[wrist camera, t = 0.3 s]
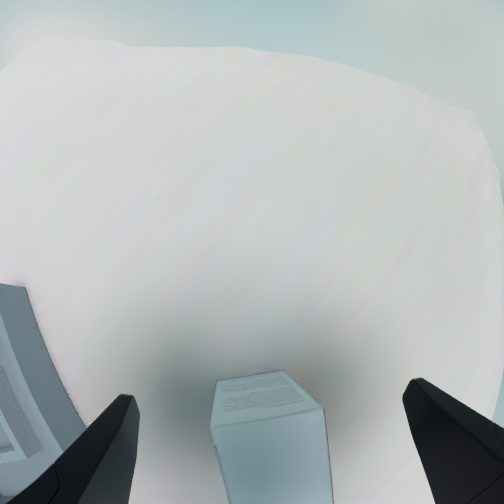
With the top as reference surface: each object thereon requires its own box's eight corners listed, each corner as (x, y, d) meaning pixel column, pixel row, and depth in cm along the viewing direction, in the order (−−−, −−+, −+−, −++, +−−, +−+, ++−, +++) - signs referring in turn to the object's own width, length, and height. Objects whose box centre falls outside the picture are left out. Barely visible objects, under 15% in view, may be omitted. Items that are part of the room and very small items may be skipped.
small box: (297, 451, 21) (337, 520, 11) (231, 463, 21) (237, 540, 10) (285, 367, 23) (327, 405, 13) (214, 378, 22) (207, 428, 12)
